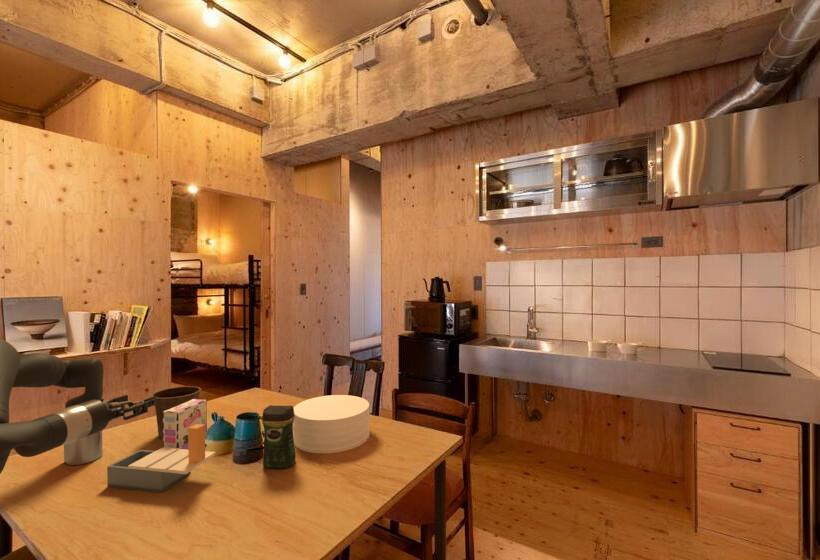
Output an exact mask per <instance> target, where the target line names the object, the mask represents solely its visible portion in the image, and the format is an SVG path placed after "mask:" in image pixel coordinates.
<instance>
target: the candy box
mask: <svg viewBox="0 0 820 560" xmlns="http://www.w3.org/2000/svg"><path fill="white" fill-rule="evenodd" d="M207 406H208V405H207V399H200V398H199V399H192V400H190V401H188V402H186V403H183V404H181V405H178V406H176V407H173V408H171V409H168V410H166V411H163V439H162V447H163V448H174V449H178V448H180V449H186V450H188V428H189V427H191V426H193V425H195V424H202V425H205V434H206V432H207V433H208V414H207V413H208V412H207V409H208V408H207Z"/></svg>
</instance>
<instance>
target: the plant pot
mask: <svg viewBox="0 0 820 560" xmlns="http://www.w3.org/2000/svg"><path fill="white" fill-rule="evenodd" d="M201 390H202V388H201V387H200V386H199V387H198V386H191V385H187V386H185V385H184V386H177V387H175V386H174V387H169V388H164V389H160V390H158V391H155V392H154V393H152V394H151V397H155V401H156V403H155V405H153V407H154V408H155V414H156V423H157V433H158V434H157V436H158V437H159V438H160V439H162V440H163V411H166V410H168V409H171V408H173V407H176V406H178V405H181V404H183V403H186V402H188V401H190V400H192V399H200V392H201Z"/></svg>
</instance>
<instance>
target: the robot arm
mask: <svg viewBox="0 0 820 560" xmlns="http://www.w3.org/2000/svg"><path fill="white" fill-rule="evenodd" d="M104 370H105V369H104V364H103V361H102V360H101V359H100V358H95V357H94V358H77V359H67V360H62V359H61V358H60V357H58V356H57V355H52V354H47V353H41V352H40V353H39V352H38V353H37V352H35V353H34V352H32V353H25V354H21V355H20V353H19V351H18V350H17V348H16V347H15V346H13V345H12V344H11V343H10V342H8V341H6V340H4V339H1V338H0V475H1V474H2V472H3V471H4V469H5V466H6V464H7V462H8V460H9V458H10V457H9V456H10V455H11V451H12V450H14V451H15V453H16V454H17V455H19V456H21V457H22V458H32V457H36V456H38V455H42V454H44V453H46V452H49V451H52V450H54V449H57V448H59V447H61V446H63V458H64V459H63V460H64V462H65V463H66V465H69V466H78V465H84V464H85V465H86V464H88V463H90V462H91V463H92V462H94V461H96V460H98V459H101V458H102V456H103V455H104V454H103V453H104V451H103V430H105V429H106V427H107V426H108V424H109V423H110V421H115V420H119V419H120V418H122V420H123V421H127V420H130V419H133V418H136V417H138V416H140V415H143V414H146V413H149V408H150V407H154V405H155V403H156V401H155V397H152V396H150V397H147V398H144V399H141V400H138V401H137V400H136V401H132V400H129V395H128V394H123V395H121V396H117V397H114V398H111V397H110V398H107V399H104V398H103V393H104ZM52 386H54V387H59V388H64V389H76V388H77V389H78V388H84V393H82V394H80V395H78V396H75V397H72V398H70V399H68V400H67V401H65V405H64V406H65V408H62V409H59V410H56V411H55V412H53V413H50V414H47V415H44V416H41V417H38V418H34V419H32V420H27V421H18V422H17V421H16V422H10V407H9V406H10V398H11V392H12V389H13V388H46V387H52ZM126 405H127V407H126Z"/></svg>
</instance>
